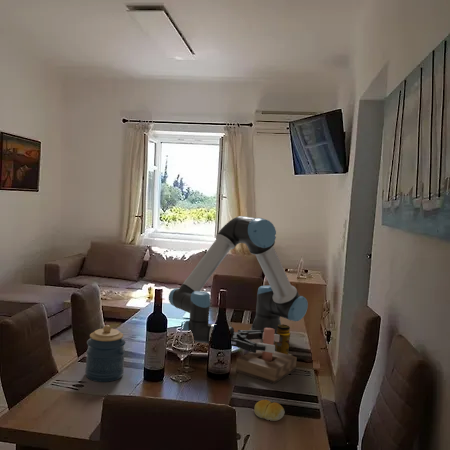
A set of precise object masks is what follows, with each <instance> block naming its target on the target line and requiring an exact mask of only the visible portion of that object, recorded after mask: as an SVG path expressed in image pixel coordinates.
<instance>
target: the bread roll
mask: <svg viewBox="0 0 450 450" xmlns="http://www.w3.org/2000/svg"><path fill="white" fill-rule="evenodd" d="M254 414H255V415H256V416H257V417H258V418H260V419H265V420H267V421H269V420H270V421H271V422H273V421H274V422H275V421H279V420H281V419H282V418H283V417H284V416H285V408H284V407H283V405H281V404H280V403H279V402H271V401H270V400H269V399H262V400H259V401H257V402H256V403H255V405H254ZM270 421H269V422H270Z"/></svg>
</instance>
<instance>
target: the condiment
mask: <svg viewBox="0 0 450 450" xmlns="http://www.w3.org/2000/svg"><path fill="white" fill-rule="evenodd" d="M290 329H291V328H290V326H289V325H288V324H281V325H278V326H277V331H276V334H278V335H280V337H279V342H275V341H274V345H275V351H276V352H280V353H283V354H287V355H291V356H293V354H291V353H289V349H290V341H291V340H290V339H291V333H290Z"/></svg>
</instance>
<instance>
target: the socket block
mask: <svg viewBox="0 0 450 450" xmlns="http://www.w3.org/2000/svg"><path fill="white" fill-rule="evenodd" d="M297 360H298V359H297V356H294V355H287V354H283V353H280V352H276V351H275V353H273V357H272V361H271V362H269V361H266V360H262V351H257V350H256V353H253V352H250V351H248V352H247V353H245V354H244V355H241V356H239V357H237V358H236V364H235V365H236V366H235V373H238V374H241V375H245V376H249V377H252V378H255V379H257V378H258V380H261V381H265V382H267V381H268V382H267V383H270V382H271V383H270V384H273V383H275V384H276V383H278V382H279V381H281V380H282V379H284V378H285V377H286V376H288V375H290V374H291V373H294V371H296V368H297ZM277 381H278V382H277Z"/></svg>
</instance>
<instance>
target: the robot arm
mask: <svg viewBox="0 0 450 450" xmlns="http://www.w3.org/2000/svg"><path fill="white" fill-rule="evenodd" d="M276 235H277V230H276V227H275V226H274V224H273V222H272V221H270V220H269V219H265V218H262V217H252V216H245V215H239V216H236V217H234V218H232V219H231V220H229V221H228V222H226V223H225V224H224V225H223V227H222V228H221V229H220V230H219V231H218V233H217V234H216V236H215V238H216V239H215V240H214V242H213V243H212V244H211V245H210V247H209V248H208V250H207V251H206V252H205V254H204V255H203V256H202V257H201V259H200V260H199V262H198V263H197V264H196V265H195V267H194V269H192V270H191V272H190V274H189V275H188V276H187V278H186V279H185V280H184V282H183V283H182V284H181V286H179V288H174V289H172V290H170V293H169V294H168V302H169V304H170V305H172V306H173V307H175V308H176V309H179V310H182V311H184V312H186V313H189V320H185V322H184V324H183V327H182V330H191V331H192V333H193V336H194V340H195V342H194V343H202V344H209V341H210V337H211V333H212V330H213V327H214V325H216V324H213V323H209V322H210V321H209V320H210V308H211V293H210V292H207V291H202V289H203V288H204V286H205V285H206V283H207V282H208V280H209V279H210V278H211V276H212V275H213V274H214V273H215V271H216V270H217V268H218V267H219V266H220V265H221V263H222V262H223V260H224V259H225V257H226V256H228V254H229V252H230V251H231V250H234V249H235V248H236V247H237V245H239V244H245V245H246V247H247V249H248V251H249V254H251V255H255V257H256V259H257V262H258V263H259V265H260V267H261V269H262V272H263V274H264V277H265V278H266V280H267V282H268V284H269V285H261V286H259V287H258V289H257V294H256V305H255V306H256V307H255V318H254V320H253V323H252V324H251V327H250V329H248V330H244V329H238V330H237V332H235V329H234V327H232V326H229V330H230V333H231V347H236V348H239V349H241V350H245V351H246V352H247V351H248V352H253V353H256V350H257V351H264V352H270V353H275V344H274V345H271V344H264V343H263V342H257V343H256V342H254V341H252V340H262V341H263V337H264V328H273V329H275V333H274V343H275V342H279V337H280V335H278V334H276V331H277V326H278V325H282V322H281V318H283V319H286V320H288V321H292V322H300V321H301V320H302V319H303V318H305V315H306V313H307V310H308V307H309V304H308V300H307V298H306V297H304V296H303V295H300V293H299V292H298V290H297V288H296V286H294V285H292V284H291V282H290V280H289V277H288V275H287V273H286V272H285V269H284V267H283V264H282V262H281V259H280V258H279V255H278V254H277V251H276V249H275V247H274V246H275V244H276V238H277V236H276ZM209 345H210V344H209Z"/></svg>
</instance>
